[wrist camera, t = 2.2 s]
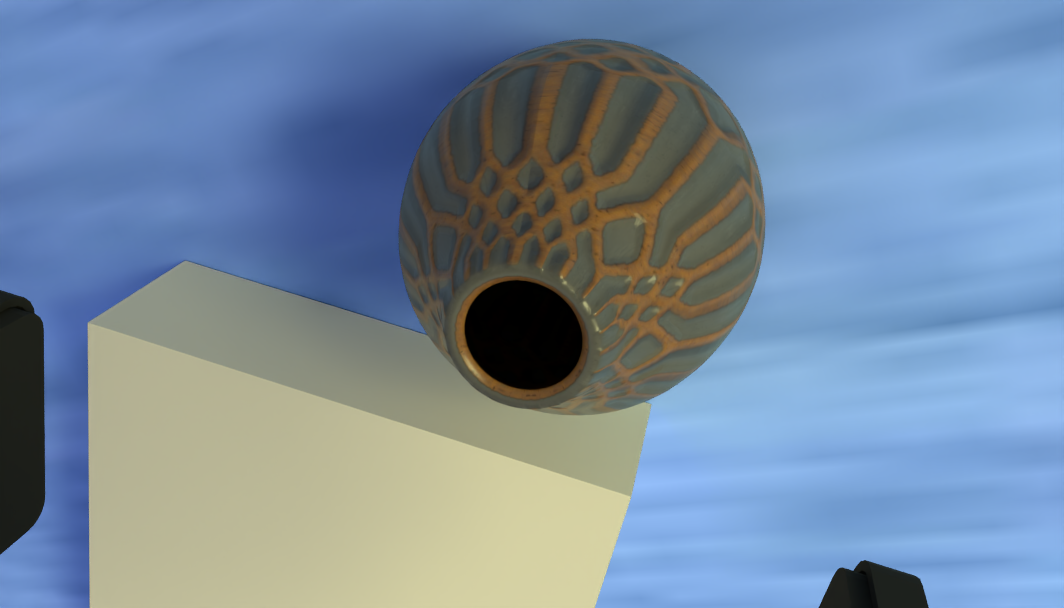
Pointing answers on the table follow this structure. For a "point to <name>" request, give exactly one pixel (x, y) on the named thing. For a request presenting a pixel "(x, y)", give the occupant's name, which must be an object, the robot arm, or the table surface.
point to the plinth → (329, 464)
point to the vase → (581, 227)
